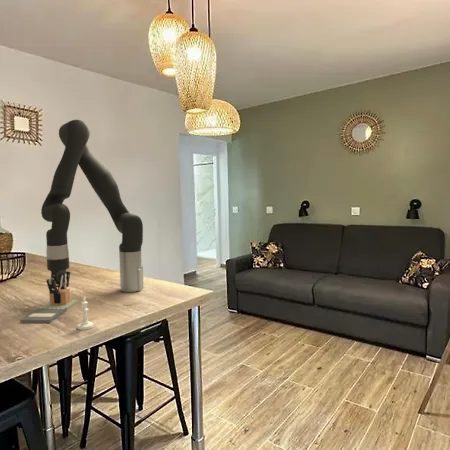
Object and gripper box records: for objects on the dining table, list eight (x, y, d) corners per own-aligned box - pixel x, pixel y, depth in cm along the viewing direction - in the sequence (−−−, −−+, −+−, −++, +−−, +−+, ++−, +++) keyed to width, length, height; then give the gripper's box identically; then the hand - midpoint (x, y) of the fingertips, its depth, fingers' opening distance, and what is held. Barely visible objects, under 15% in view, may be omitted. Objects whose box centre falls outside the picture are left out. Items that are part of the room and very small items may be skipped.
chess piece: (95, 323, 115) (94, 294, 114) (90, 329, 110) (89, 298, 109) (80, 324, 115) (79, 294, 113) (74, 330, 110) (73, 298, 109)
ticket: (66, 310, 127) (66, 307, 127) (50, 322, 116) (50, 319, 115) (39, 310, 127) (39, 307, 127) (20, 322, 116) (20, 319, 116)
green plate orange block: (77, 302, 136) (76, 287, 136) (67, 310, 127) (66, 294, 127) (52, 302, 136) (51, 287, 136) (39, 309, 128) (39, 294, 127)
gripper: (58, 260, 124) (61, 307, 125) (76, 253, 138) (78, 295, 140) (37, 260, 124) (40, 307, 126) (57, 253, 138) (59, 295, 140)
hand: (60, 301), depth 133 cm, fingers closed on green plate orange block, 3 cm apart
